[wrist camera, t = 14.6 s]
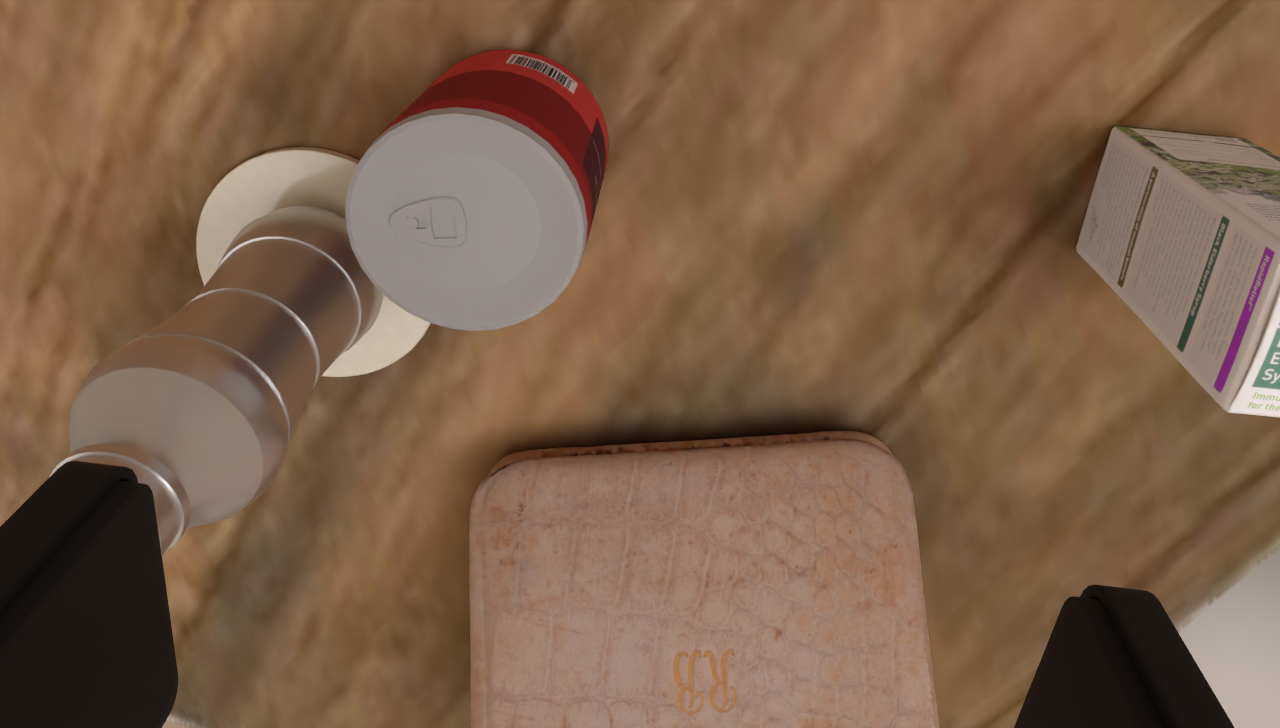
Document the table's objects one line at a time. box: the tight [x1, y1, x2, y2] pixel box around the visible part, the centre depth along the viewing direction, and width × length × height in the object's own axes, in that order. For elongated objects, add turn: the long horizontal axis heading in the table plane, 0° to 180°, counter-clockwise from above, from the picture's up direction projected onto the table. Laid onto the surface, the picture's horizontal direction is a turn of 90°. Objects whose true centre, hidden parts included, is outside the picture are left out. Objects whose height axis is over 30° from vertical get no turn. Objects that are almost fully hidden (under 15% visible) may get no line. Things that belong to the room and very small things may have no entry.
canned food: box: [345, 49, 609, 331], centre depth 38 cm, size 8×8×11 cm
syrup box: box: [1076, 126, 1280, 418], centre depth 37 cm, size 6×6×14 cm
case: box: [469, 431, 939, 728], centre depth 47 cm, size 20×21×16 cm
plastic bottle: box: [50, 206, 384, 555], centre depth 37 cm, size 6×7×20 cm
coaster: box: [196, 147, 431, 377], centre depth 46 cm, size 11×11×1 cm
